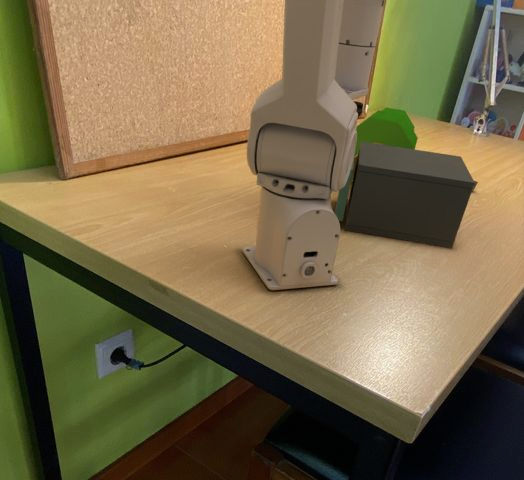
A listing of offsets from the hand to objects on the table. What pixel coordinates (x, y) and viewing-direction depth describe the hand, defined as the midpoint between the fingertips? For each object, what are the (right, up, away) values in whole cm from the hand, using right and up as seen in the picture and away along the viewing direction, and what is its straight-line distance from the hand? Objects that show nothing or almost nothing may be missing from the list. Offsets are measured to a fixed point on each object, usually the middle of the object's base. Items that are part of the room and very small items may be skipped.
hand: (330, 160), depth 68 cm
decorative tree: (+11, +5, +21) cm, 24 cm away
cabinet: (+10, -8, +3) cm, 13 cm away
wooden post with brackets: (+24, 0, +17) cm, 29 cm away
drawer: (+5, -6, +3) cm, 9 cm away
